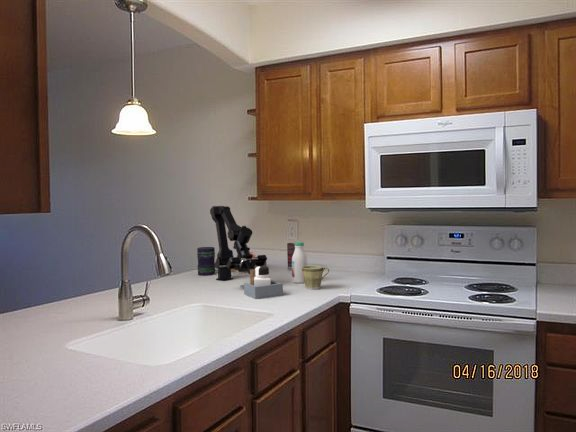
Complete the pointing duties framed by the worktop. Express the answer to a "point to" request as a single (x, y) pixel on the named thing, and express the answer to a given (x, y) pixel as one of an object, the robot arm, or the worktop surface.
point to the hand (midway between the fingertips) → (253, 276)
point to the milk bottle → (298, 263)
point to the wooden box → (244, 271)
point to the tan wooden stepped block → (252, 276)
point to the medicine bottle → (262, 276)
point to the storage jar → (206, 261)
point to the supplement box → (290, 254)
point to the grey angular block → (263, 290)
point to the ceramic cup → (313, 276)
